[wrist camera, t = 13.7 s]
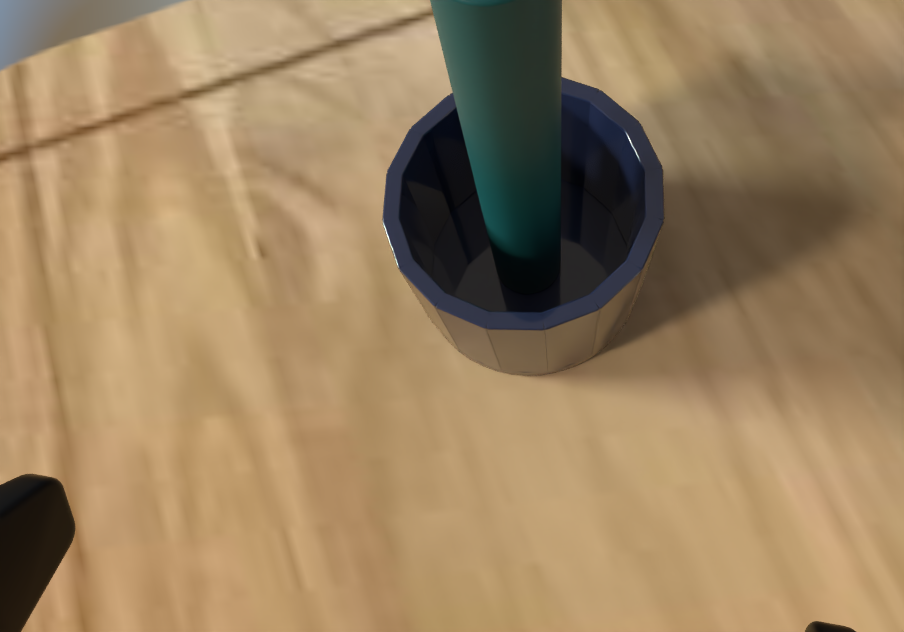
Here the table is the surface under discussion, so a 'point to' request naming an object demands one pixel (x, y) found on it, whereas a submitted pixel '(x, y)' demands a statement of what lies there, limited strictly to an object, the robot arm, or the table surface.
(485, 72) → the teal green rod
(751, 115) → the table surface
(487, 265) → the cup
